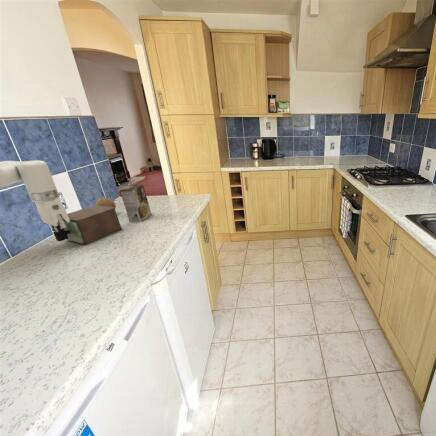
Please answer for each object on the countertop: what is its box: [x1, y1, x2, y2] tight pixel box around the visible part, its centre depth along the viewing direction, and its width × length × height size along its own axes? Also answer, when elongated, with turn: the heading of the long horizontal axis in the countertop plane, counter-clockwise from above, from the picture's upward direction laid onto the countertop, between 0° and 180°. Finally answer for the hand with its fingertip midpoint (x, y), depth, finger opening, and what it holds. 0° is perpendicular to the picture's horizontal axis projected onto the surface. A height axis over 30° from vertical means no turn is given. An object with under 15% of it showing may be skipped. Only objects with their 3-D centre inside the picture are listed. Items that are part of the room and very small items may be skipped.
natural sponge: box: [94, 196, 117, 209], centre depth 124 cm, size 9×9×10 cm
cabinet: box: [67, 204, 123, 245], centre depth 104 cm, size 15×13×11 cm
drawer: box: [64, 221, 85, 245], centre depth 102 cm, size 15×11×9 cm
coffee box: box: [118, 184, 152, 222], centre depth 119 cm, size 9×6×16 cm
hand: (62, 239), depth 96 cm, fingers closed
